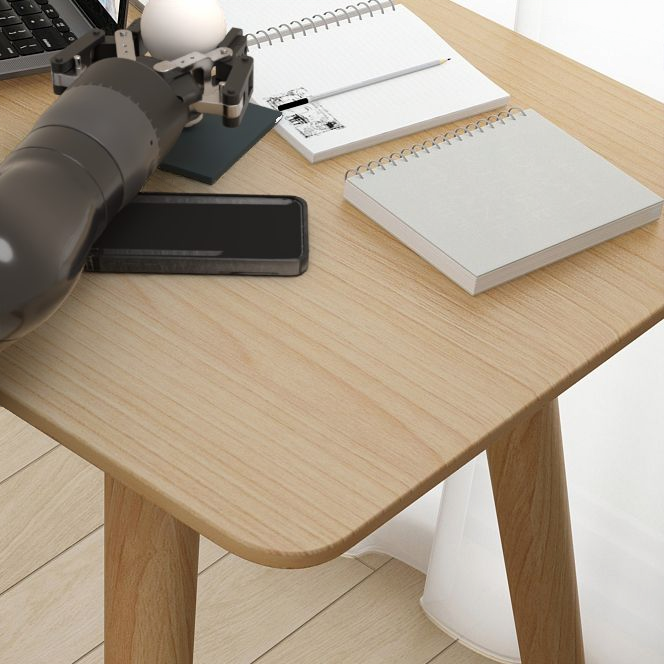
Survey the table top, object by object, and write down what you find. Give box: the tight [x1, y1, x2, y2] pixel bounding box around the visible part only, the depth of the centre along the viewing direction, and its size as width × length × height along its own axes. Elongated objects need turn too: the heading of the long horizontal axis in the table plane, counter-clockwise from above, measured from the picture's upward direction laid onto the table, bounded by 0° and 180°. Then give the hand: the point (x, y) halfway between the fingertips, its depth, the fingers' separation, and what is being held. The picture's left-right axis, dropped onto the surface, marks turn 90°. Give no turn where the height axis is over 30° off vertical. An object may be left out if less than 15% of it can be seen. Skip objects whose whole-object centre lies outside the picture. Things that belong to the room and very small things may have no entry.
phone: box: [83, 191, 310, 276], centre depth 80 cm, size 8×1×15 cm
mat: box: [157, 102, 283, 185], centre depth 91 cm, size 11×11×1 cm
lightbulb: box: [140, 0, 227, 127], centre depth 88 cm, size 6×6×11 cm
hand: (195, 32), depth 89 cm, fingers closed on lightbulb, 6 cm apart
